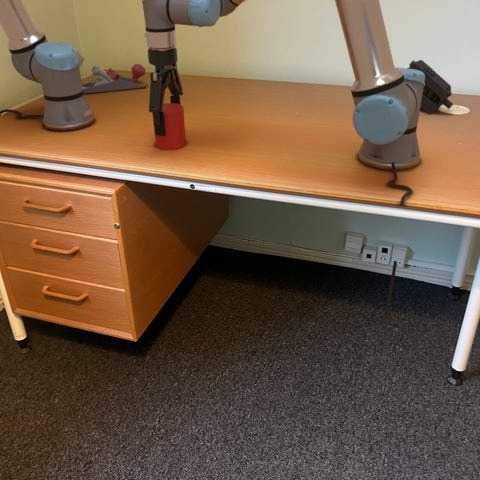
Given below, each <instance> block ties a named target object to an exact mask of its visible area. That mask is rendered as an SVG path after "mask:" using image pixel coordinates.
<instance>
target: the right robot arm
mask: <svg viewBox="0 0 480 480" xmlns="http://www.w3.org/2000/svg"><path fill="white" fill-rule="evenodd" d="M246 1H247V0H141V3H142V9H143V16H144V17H143V18H144V24H145V33H144V37H145V38H146V46H147V47H148V49H147V59H148V64H150V65H151V66H154V72H153V71H152V72H150V74H149V76H150V77H149V78H150V86H149V87H150V88H149V101H148V102H149V104H148V112H149V113H152V112H153V114H152V118H153V117H154V123H153V128H154V127H155V133H154V136H155V135H157V136H165V135H166V131H165V120H164V111H162V108H163V104H164V101H165V95H166V90H167V89H168V90H169V92H170V95H169V100H170V102H169V103H175V104H180V105H182V104H181V96H183V95H184V91H183V86H182V82H181V78H180V74H179V71H178V65H177V63H178V59H179V58H178V49H177V47H176V46H177V43H178V42H177V32H176V25H181V26H189V27H190V26H192V27H199V28H204V27H206V28H207V27H208V28H209V27H214V26H216V24H217V22H218V20H219V18H223V17H226V16H228V15H231V14H232V13H233V12H234V11H236V10H237V8H238V7H239V6H240V5H242V4H243V3H245V2H246ZM334 3H335V7H336V10H337V11H336V12H337V14H338V18H339V22H340V25H341V30H342V34H343V37H344V40H345V46H346V50H347V54H348V57H349V60H350V64H351V69H352V72H353V77H354V81H353V83H352V85H351V86H350V92H351V96H352V100H353V105H354V110H353V112H352V125H353V128H354V131H355V132H356V134H357V135H358V136H359V137H360V138H361V139H362V140H363V141H362V143H361V145H360V147H359V151H358V159H359V160H360V162H362V163H363V164H364V165H367V166H369V167H372V168H374V169H378V170H385V171H392V175H393V179H390V180H389V181H388V183H387V184H388V185H389V186H390V187H392V188H397V189H405V190H406V192H405V193H404V194H403V195H402V197H401V199H400V202H399V206H401V207H404V204H405V199H406V198H407V197H408V196H410V195H411V194H412V193H413V190H412V188H411V187H410V186H408V185H404V184H396V183H395V182H397V180H398V173H397V171H403V170H408V169H412V168H414V167H416V166H418V164H419V163H420V158H421V153H420V151H421V150H420V146H419V140H418V135H417V130H418V124H419V119H420V117H419V116H420V111H421V100H422V93H423V87H424V86H425V83H424V82H425V74H424V73H423V72H422V71H419V70H415V69H408V68H409V67H396V66H395V64H394V59H393V55H392V51H391V46H390V42H389V37H388V32H387V29H386V24H385V19H384V16H383V11H382V7H381V3H380V0H334ZM155 107H156V108H155ZM397 264H398V261H396V260H394V261H393V264H392V271H391V277H390V282H389V287H388V288H389V289H388V295H387V301H386V305H385V311H384V312H385V314H384V318H389V313H390V305H391V300H392V294H393V288H394V283H395V277H396V272H397Z"/></svg>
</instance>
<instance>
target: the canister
mask: <svg viewBox="0 0 480 480" xmlns="http://www.w3.org/2000/svg"><path fill="white" fill-rule="evenodd" d="M155 108H156V107H155ZM162 111H164V120H165V131H166V135H165V136H157V135H155V127H154V126H153V131H154V140H155V146H156V147H157V148H158V149H161V150H177V149H180V148H183V147H185V146H186V144H187V137H186V135H187V134H186V124H185V111H184V106H183V105H182V104H181V105H180V104H175V103H171V102H165V103H163V108H162ZM151 114H152V115H153V112H151ZM152 122H153V123H152V124H154V117H153V116H152Z"/></svg>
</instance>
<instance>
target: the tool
mask: <svg viewBox="0 0 480 480" xmlns="http://www.w3.org/2000/svg"><path fill="white" fill-rule="evenodd" d="M408 66H409V67H407V68H408V69H415V70H419V71H422V72H423V73H424V74H425V82H424V83H425V86H424V87H423V93H422V100H421V106H420V108H422V109H423V110H424V111H425V112H427V113H428V114H432V113H434V112H436V111H437V110H438V109H440V108H441V107H442V106H444V107H446V108H447V109H448V110H449V109H451V108H452V107H453V106H454V103H453V102H452V101H450V99H448V98H449V97H451V96H452V94H453V92H452V86H451V84H450V83H448V81H447V80H445V79H444V78H443V77H442V76H441V75H440V74H439V73H438V72H437V71H435V70H434V69H433V68H432V67H431V66H430V65H429V64H427V63H426V62H425V61H424V60H422V59H418V60H417V61H416V60H411V62H410V63H409V65H408Z"/></svg>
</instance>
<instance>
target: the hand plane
mask: <svg viewBox="0 0 480 480" xmlns="http://www.w3.org/2000/svg"><path fill="white" fill-rule="evenodd" d="M75 50H76V54H77V57H78V61H79V69H80V68H81V66H82V65H83V63H84V61H85V59H86V58H85V56H84V55H83V54H82V53H81V52H80V51H79V50H77V49H75ZM90 72H91V75H93V76H94V77H97V78H95V79H90V81H89V82H86V83H82V87H83V93H84V95H85V94H94V93H104V92H112V91H113V92H114V91H121V90H132V89H142V88H146V83H145V81H143V80H139V78H142V77H144V76H145V75H146V68H145V66H143V65H141V64H139V63H134V64H133V65H132V66H131V73H132V76H131V78H130V77H126V76H123V75H120V74H119V73H117V72H116V71H114V70H113V69H112V68H111V67H109V68H108V70H107V71H105V70H104V69H103V68H102V67H100V65H94V66H92V68H91V70H90Z"/></svg>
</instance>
